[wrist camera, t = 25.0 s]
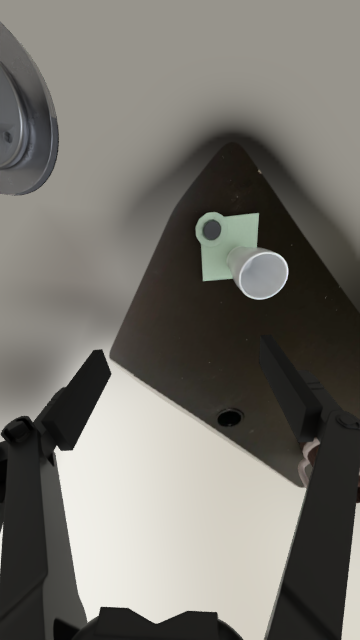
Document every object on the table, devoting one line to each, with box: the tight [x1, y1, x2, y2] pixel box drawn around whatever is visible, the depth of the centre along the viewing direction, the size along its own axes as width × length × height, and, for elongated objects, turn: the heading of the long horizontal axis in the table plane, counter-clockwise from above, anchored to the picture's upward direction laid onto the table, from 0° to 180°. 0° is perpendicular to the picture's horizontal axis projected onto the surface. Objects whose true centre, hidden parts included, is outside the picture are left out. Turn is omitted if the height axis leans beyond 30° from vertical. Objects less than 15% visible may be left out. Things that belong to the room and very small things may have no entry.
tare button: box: [203, 221, 220, 239], centre depth 36 cm, size 3×3×2 cm
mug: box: [298, 436, 360, 503], centre depth 60 cm, size 20×15×15 cm
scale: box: [195, 212, 259, 281], centre depth 39 cm, size 13×12×3 cm
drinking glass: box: [226, 246, 288, 299], centre depth 33 cm, size 7×7×15 cm
